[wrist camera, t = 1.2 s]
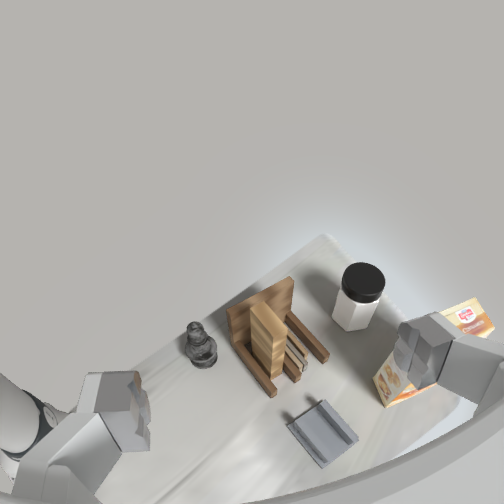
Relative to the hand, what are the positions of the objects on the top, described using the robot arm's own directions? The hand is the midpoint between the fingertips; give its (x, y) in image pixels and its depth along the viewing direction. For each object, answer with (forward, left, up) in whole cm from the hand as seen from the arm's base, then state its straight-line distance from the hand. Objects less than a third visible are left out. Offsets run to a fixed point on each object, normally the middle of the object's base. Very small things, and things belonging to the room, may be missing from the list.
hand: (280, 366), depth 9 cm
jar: (+34, +17, -47) cm, 60 cm away
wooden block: (+13, +18, -46) cm, 51 cm away
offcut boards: (+18, +18, -46) cm, 53 cm away
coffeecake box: (+33, -2, -47) cm, 57 cm away
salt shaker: (+4, +26, -47) cm, 54 cm away
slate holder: (+13, +1, -46) cm, 48 cm away
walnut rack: (+16, +19, -46) cm, 53 cm away
